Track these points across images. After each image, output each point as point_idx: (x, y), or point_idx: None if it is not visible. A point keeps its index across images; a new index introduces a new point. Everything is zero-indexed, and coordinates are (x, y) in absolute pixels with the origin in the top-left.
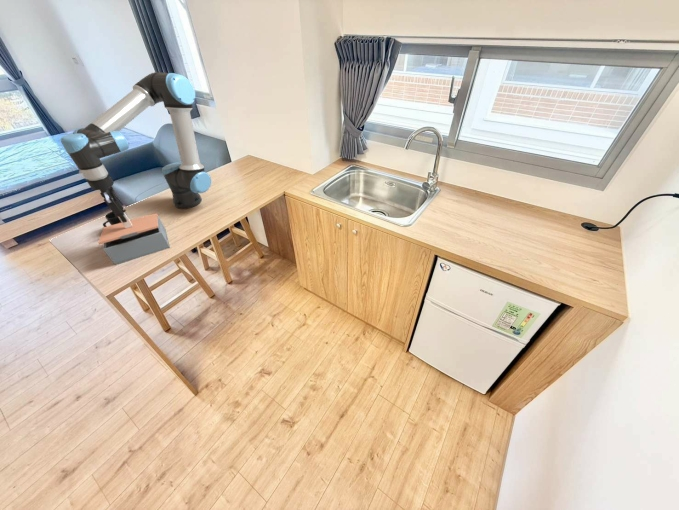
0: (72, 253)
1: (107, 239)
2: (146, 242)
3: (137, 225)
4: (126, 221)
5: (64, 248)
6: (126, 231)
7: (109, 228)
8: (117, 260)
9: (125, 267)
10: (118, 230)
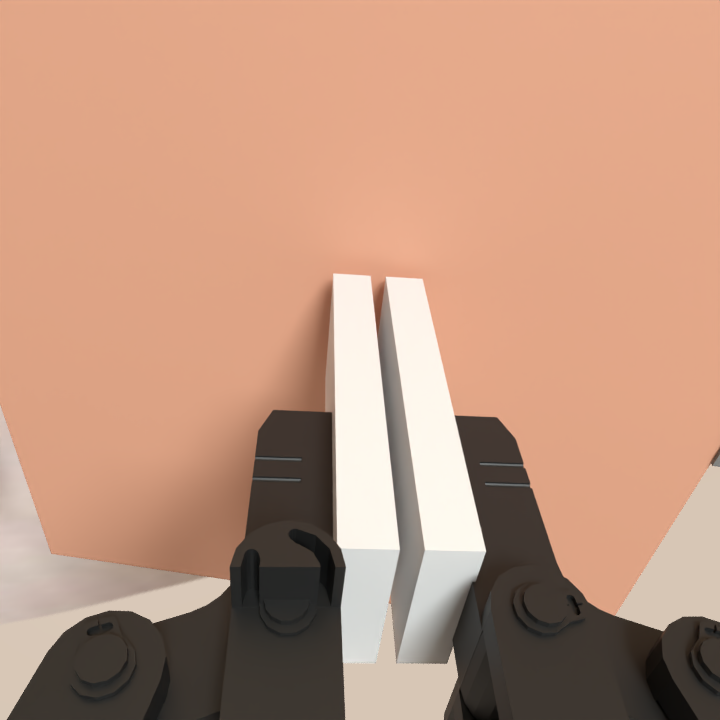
0: (117, 582)
1: (608, 573)
2: None
3: (429, 185)
4: (498, 427)
5: (15, 614)
6: (566, 381)
7: (158, 518)
8: None
9: None
10: None
